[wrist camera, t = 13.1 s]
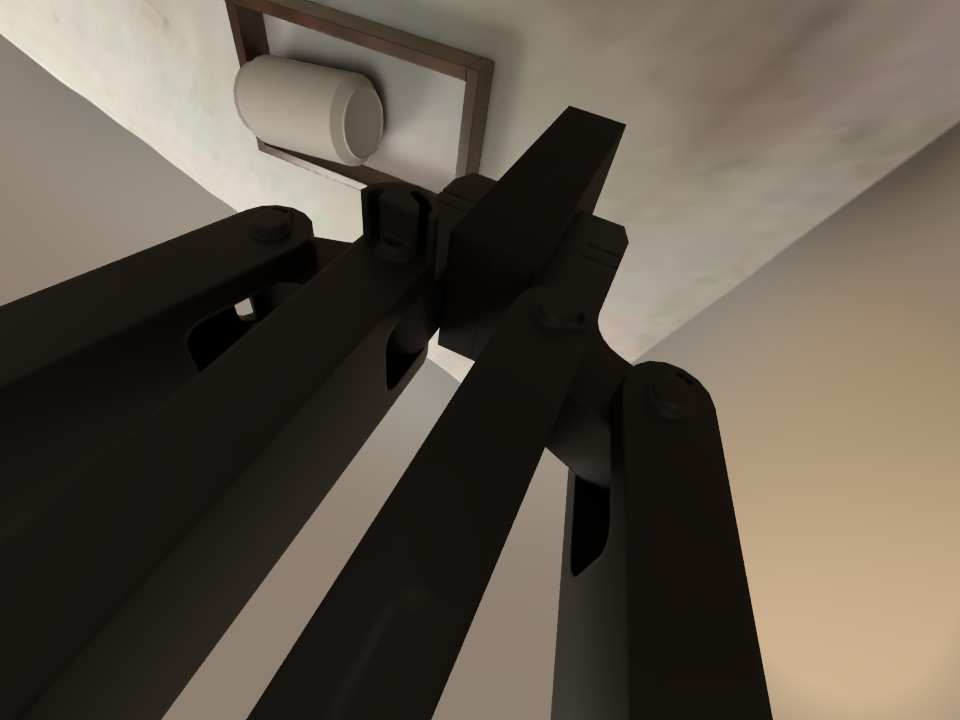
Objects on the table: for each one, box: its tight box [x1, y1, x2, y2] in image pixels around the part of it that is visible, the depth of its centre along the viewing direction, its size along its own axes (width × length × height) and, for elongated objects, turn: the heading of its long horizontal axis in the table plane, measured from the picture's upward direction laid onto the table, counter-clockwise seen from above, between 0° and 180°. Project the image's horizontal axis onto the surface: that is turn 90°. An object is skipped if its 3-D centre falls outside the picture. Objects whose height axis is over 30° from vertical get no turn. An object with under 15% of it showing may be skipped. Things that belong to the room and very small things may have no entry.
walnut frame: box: [225, 0, 494, 197], centre depth 42 cm, size 24×14×3 cm, turn 80°
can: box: [233, 54, 384, 166], centre depth 42 cm, size 8×8×12 cm
